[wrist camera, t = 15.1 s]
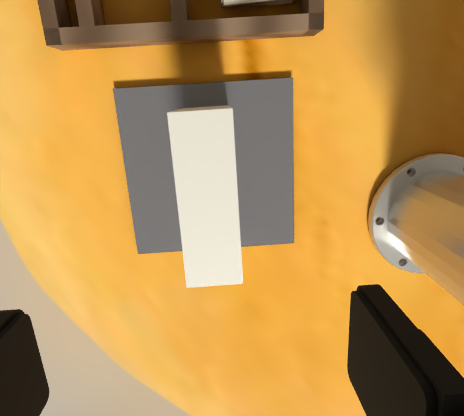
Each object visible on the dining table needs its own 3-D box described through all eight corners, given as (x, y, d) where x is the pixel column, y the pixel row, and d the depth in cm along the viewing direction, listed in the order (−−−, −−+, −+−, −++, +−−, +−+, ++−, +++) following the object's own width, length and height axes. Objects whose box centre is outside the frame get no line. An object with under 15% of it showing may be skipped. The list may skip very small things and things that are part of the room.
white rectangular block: (227, 105, 32) (232, 108, 21) (235, 228, 35) (243, 283, 25) (183, 108, 32) (167, 112, 21) (196, 231, 35) (186, 287, 25)
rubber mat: (291, 77, 32) (292, 77, 31) (292, 240, 37) (294, 243, 36) (114, 88, 32) (113, 88, 31) (139, 251, 36) (138, 253, 36)
